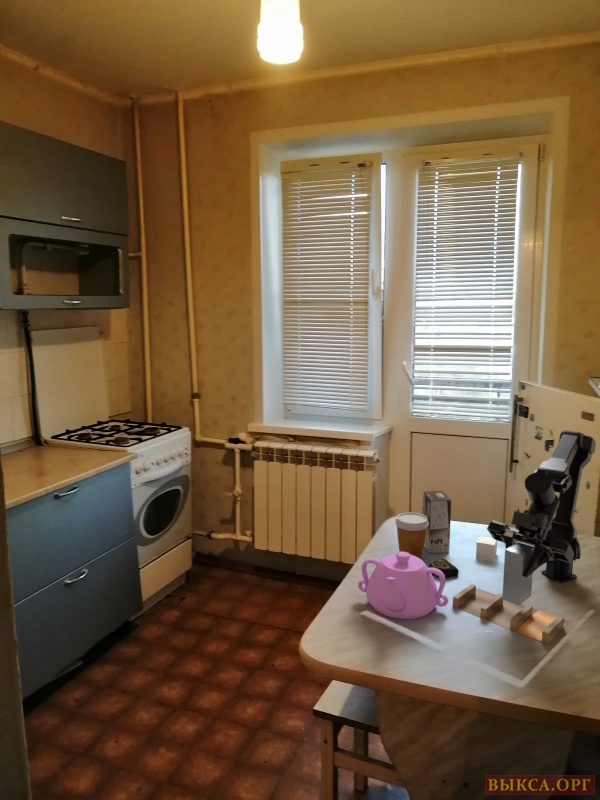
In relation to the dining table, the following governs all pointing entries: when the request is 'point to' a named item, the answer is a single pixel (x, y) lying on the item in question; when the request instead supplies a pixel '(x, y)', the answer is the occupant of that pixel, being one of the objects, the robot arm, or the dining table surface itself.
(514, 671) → the dining table surface
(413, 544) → the disposable coffee cup
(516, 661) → the dining table surface
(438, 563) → the tape measure
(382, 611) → the teapot
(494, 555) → the cream white cube
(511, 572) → the tall grey box
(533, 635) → the rail rack
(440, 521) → the coffee box
